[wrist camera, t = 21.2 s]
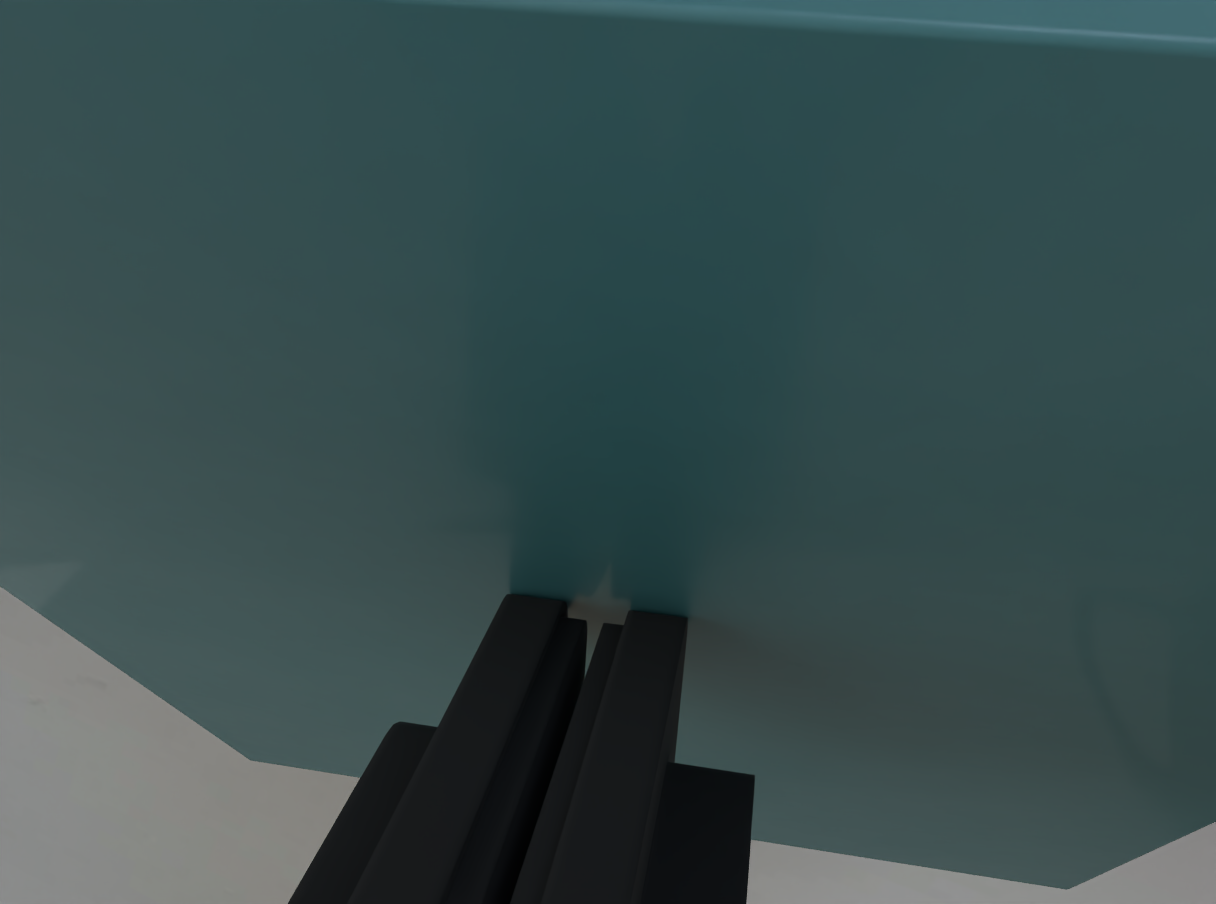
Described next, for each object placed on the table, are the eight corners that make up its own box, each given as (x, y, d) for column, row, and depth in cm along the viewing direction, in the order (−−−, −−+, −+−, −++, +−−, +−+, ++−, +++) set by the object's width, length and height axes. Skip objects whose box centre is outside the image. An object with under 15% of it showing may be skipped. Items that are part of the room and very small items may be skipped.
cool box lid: (-857, -205, 6) (-991, -98, 5) (2548, -41, 4) (2714, 143, 3) (262, 714, 20) (248, 760, 20) (1068, 837, 18) (1069, 890, 18)
